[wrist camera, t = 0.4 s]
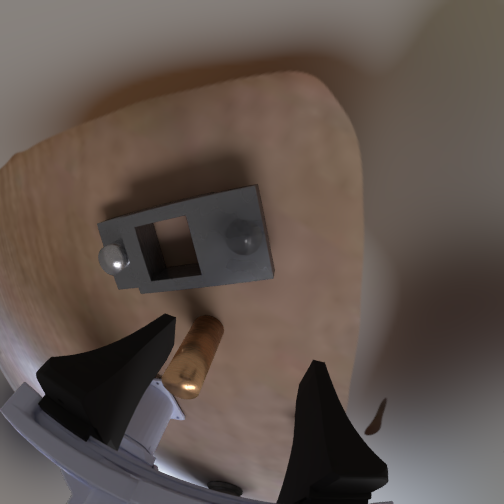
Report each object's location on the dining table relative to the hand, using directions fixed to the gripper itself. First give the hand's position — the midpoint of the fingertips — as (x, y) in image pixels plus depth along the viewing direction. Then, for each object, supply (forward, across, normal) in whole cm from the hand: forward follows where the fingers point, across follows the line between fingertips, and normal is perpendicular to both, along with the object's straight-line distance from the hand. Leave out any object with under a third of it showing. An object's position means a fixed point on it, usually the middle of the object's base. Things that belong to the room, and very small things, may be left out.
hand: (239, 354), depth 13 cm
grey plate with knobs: (+10, +8, 0) cm, 13 cm away
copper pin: (+10, +4, +8) cm, 13 cm away
